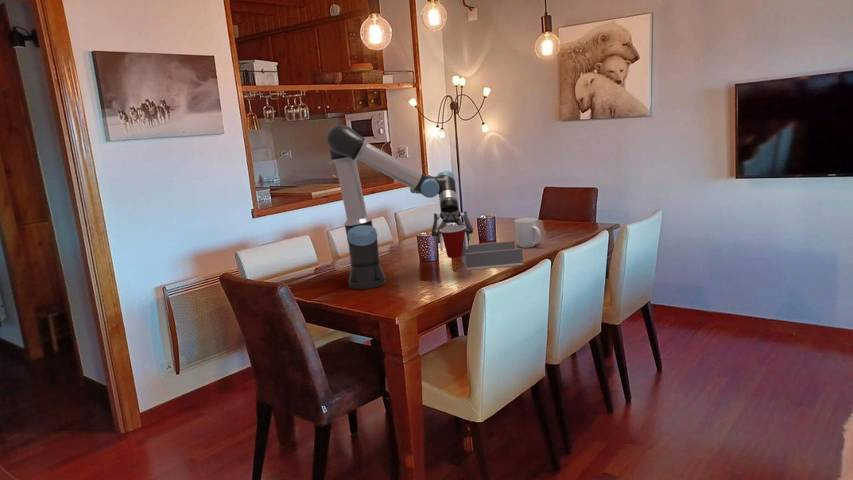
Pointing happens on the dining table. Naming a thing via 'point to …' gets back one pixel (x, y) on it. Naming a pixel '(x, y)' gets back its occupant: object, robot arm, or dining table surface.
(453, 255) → the plastic cup
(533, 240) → the mug
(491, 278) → the dining table surface
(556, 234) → the dining table surface
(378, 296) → the dining table surface
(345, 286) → the dining table surface
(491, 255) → the dock
